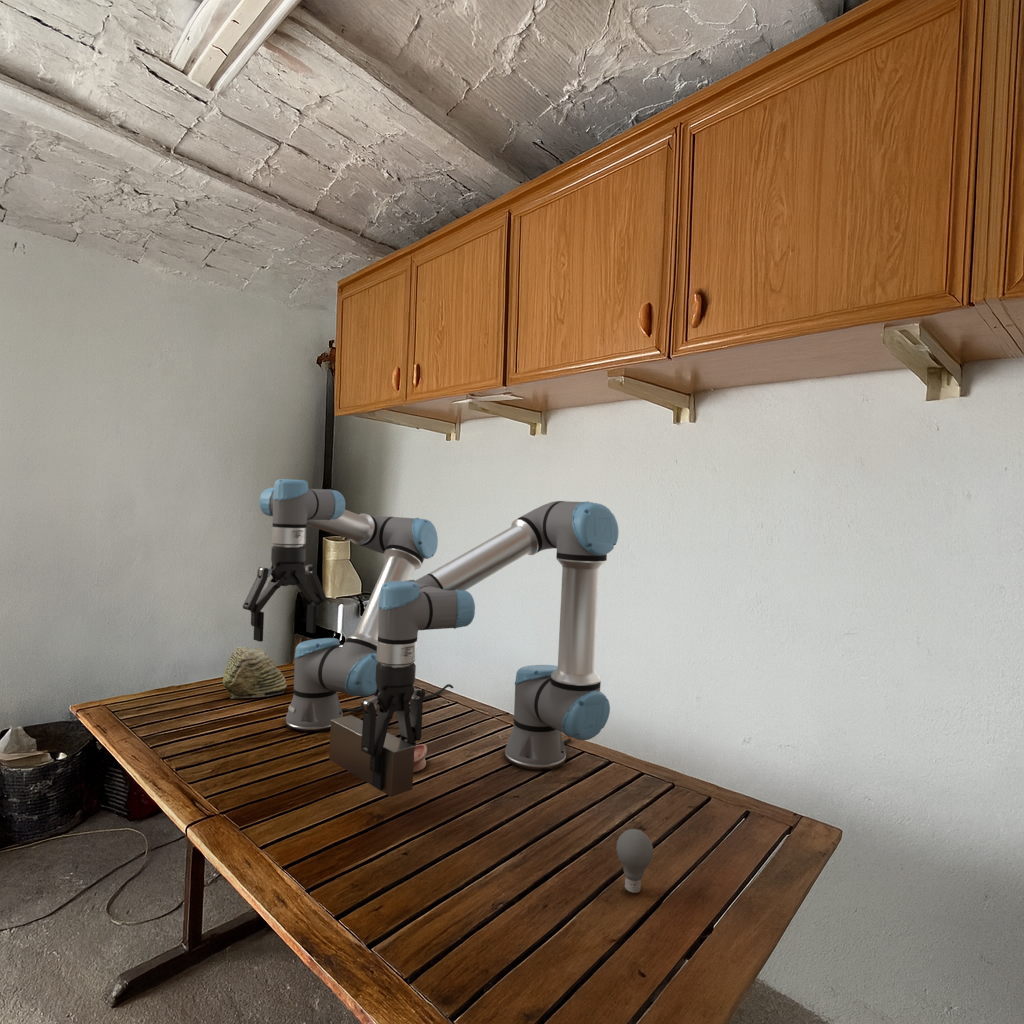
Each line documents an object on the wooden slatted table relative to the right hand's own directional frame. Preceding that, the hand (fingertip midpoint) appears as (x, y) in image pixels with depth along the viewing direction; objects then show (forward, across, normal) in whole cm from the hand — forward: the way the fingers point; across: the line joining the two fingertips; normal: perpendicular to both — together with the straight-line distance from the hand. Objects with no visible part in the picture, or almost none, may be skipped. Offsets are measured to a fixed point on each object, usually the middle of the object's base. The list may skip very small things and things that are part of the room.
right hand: (390, 782), depth 122 cm
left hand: (-21, -2, +40) cm, 46 cm away
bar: (+1, 0, +7) cm, 7 cm away
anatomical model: (+9, +18, +22) cm, 30 cm away
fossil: (+9, +16, +94) cm, 96 cm away
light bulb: (+9, +19, -43) cm, 48 cm away
